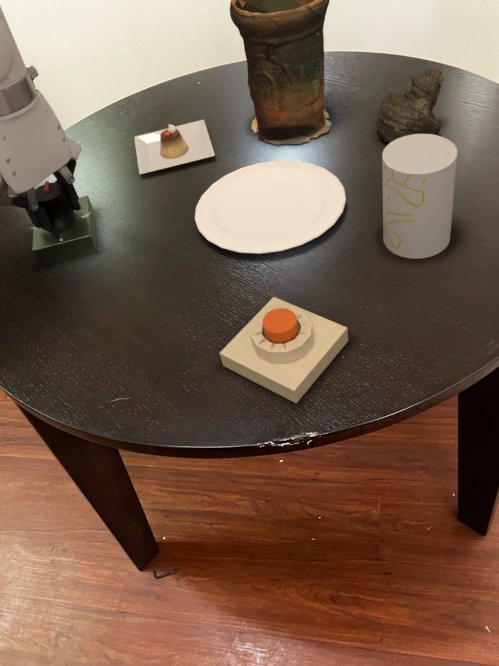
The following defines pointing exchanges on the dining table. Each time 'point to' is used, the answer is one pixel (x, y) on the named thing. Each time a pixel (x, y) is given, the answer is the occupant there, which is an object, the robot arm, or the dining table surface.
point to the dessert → (173, 147)
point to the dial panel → (67, 238)
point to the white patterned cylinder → (418, 194)
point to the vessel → (284, 66)
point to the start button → (280, 325)
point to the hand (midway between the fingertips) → (58, 216)
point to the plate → (270, 207)
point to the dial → (56, 205)
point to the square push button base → (285, 352)
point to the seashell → (411, 108)
